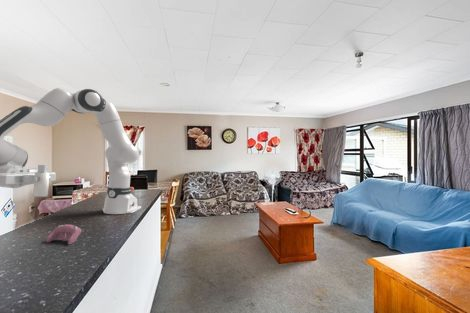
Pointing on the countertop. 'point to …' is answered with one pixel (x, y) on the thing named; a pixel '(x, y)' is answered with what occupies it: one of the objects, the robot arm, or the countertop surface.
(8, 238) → the countertop surface
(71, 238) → the video game controller
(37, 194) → the white bottle
